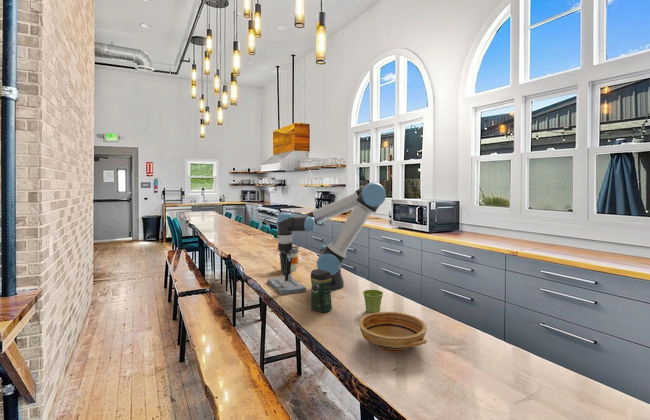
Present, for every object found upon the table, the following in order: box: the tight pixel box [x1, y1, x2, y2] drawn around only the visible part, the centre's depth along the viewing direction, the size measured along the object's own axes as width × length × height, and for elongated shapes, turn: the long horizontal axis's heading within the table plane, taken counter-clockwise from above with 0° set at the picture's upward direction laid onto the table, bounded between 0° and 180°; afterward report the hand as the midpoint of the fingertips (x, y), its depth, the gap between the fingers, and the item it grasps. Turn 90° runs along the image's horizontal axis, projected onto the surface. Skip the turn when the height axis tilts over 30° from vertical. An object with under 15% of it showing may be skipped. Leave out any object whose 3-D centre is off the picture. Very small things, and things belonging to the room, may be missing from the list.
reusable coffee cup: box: [279, 245, 299, 273], centre depth 238 cm, size 13×13×15 cm
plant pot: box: [362, 289, 384, 314], centre depth 163 cm, size 9×9×9 cm
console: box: [266, 276, 307, 296], centre depth 202 cm, size 26×14×2 cm, turn 25°
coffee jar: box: [310, 268, 332, 313], centre depth 166 cm, size 10×8×19 cm
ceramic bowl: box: [358, 311, 428, 353], centre depth 130 cm, size 30×24×8 cm
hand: (286, 286), depth 191 cm, fingers closed
